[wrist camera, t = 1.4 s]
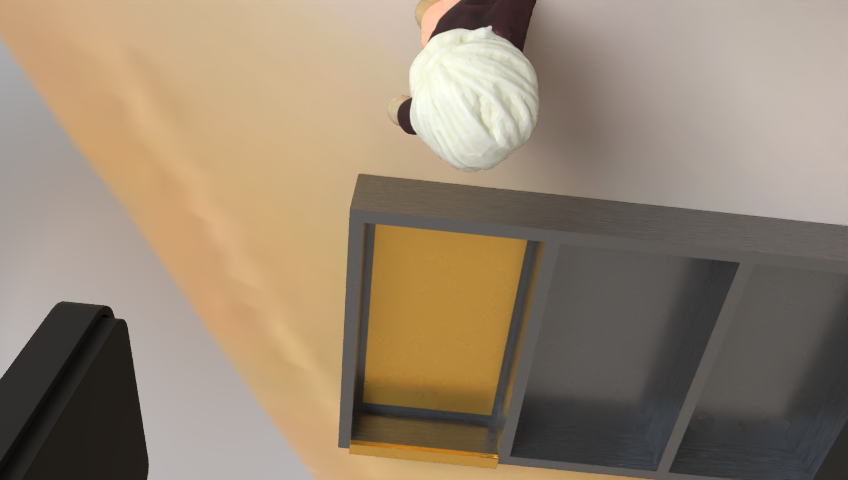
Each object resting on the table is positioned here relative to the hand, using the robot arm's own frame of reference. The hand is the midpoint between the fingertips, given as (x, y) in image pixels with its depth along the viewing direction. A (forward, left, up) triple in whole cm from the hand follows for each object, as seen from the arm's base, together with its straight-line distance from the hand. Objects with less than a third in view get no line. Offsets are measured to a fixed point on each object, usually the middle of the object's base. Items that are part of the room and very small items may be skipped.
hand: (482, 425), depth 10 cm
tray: (-9, +16, -22) cm, 28 cm away
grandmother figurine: (0, 0, -22) cm, 22 cm away
